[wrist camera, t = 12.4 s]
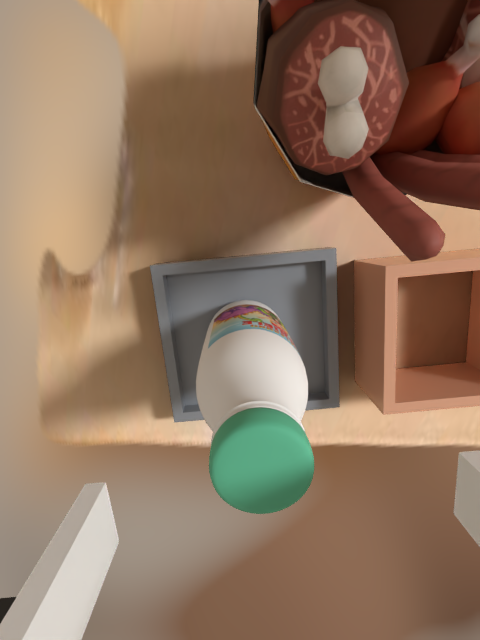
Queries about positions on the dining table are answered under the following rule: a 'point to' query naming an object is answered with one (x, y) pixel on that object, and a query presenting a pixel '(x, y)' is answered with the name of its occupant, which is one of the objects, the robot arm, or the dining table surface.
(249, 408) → the milk bottle
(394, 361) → the deep holder
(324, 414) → the dining table surface
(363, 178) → the bucket of meat
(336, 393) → the tray
